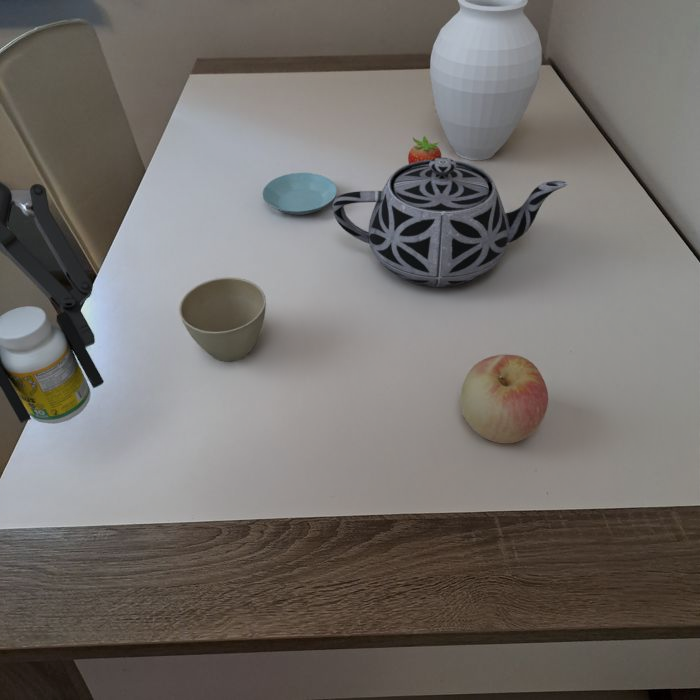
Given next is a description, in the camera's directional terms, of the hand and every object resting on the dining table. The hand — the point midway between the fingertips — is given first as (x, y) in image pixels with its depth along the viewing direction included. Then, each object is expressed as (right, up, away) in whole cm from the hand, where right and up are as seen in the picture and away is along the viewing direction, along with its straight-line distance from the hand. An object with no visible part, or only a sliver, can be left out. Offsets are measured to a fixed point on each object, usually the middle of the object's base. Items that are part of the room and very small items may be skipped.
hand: (63, 401), depth 53 cm
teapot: (+37, +17, +39) cm, 56 cm away
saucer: (+16, +28, +51) cm, 60 cm away
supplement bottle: (-2, -1, +5) cm, 5 cm away
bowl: (+9, +4, +27) cm, 29 cm away
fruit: (+36, +32, +55) cm, 73 cm away
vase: (+46, +40, +63) cm, 87 cm away
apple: (+40, -4, +17) cm, 43 cm away
